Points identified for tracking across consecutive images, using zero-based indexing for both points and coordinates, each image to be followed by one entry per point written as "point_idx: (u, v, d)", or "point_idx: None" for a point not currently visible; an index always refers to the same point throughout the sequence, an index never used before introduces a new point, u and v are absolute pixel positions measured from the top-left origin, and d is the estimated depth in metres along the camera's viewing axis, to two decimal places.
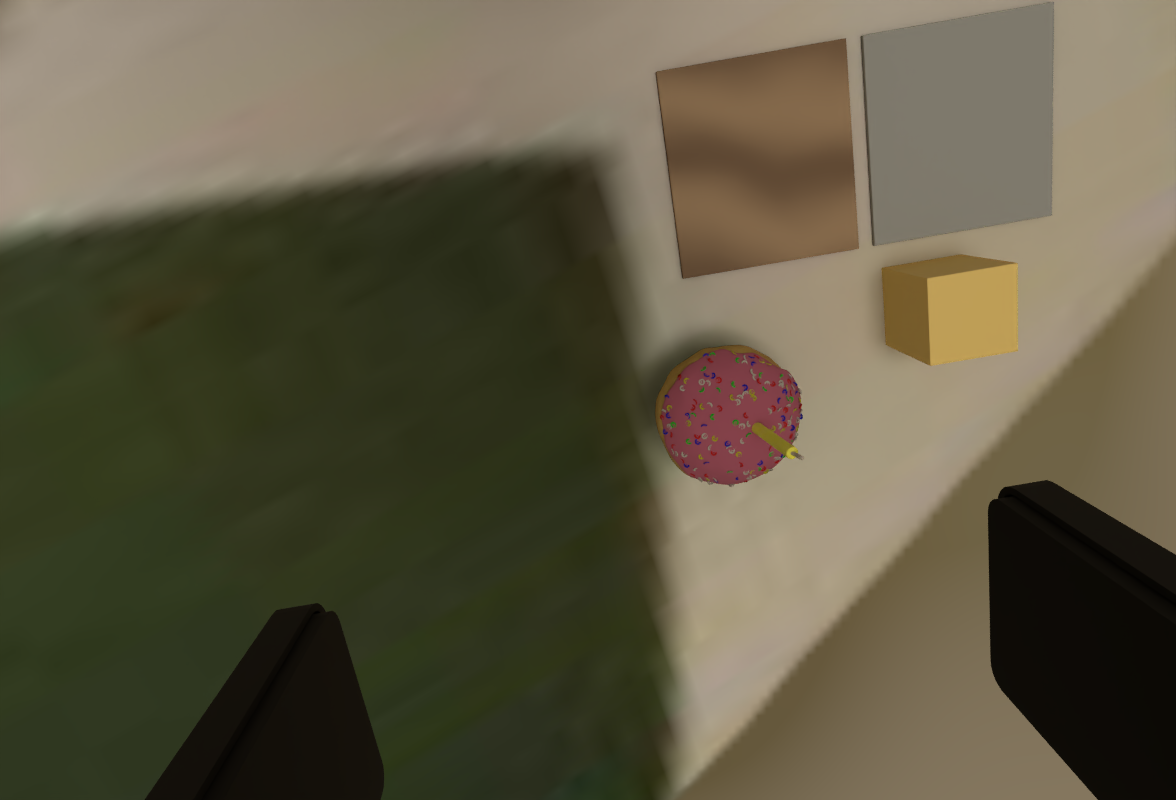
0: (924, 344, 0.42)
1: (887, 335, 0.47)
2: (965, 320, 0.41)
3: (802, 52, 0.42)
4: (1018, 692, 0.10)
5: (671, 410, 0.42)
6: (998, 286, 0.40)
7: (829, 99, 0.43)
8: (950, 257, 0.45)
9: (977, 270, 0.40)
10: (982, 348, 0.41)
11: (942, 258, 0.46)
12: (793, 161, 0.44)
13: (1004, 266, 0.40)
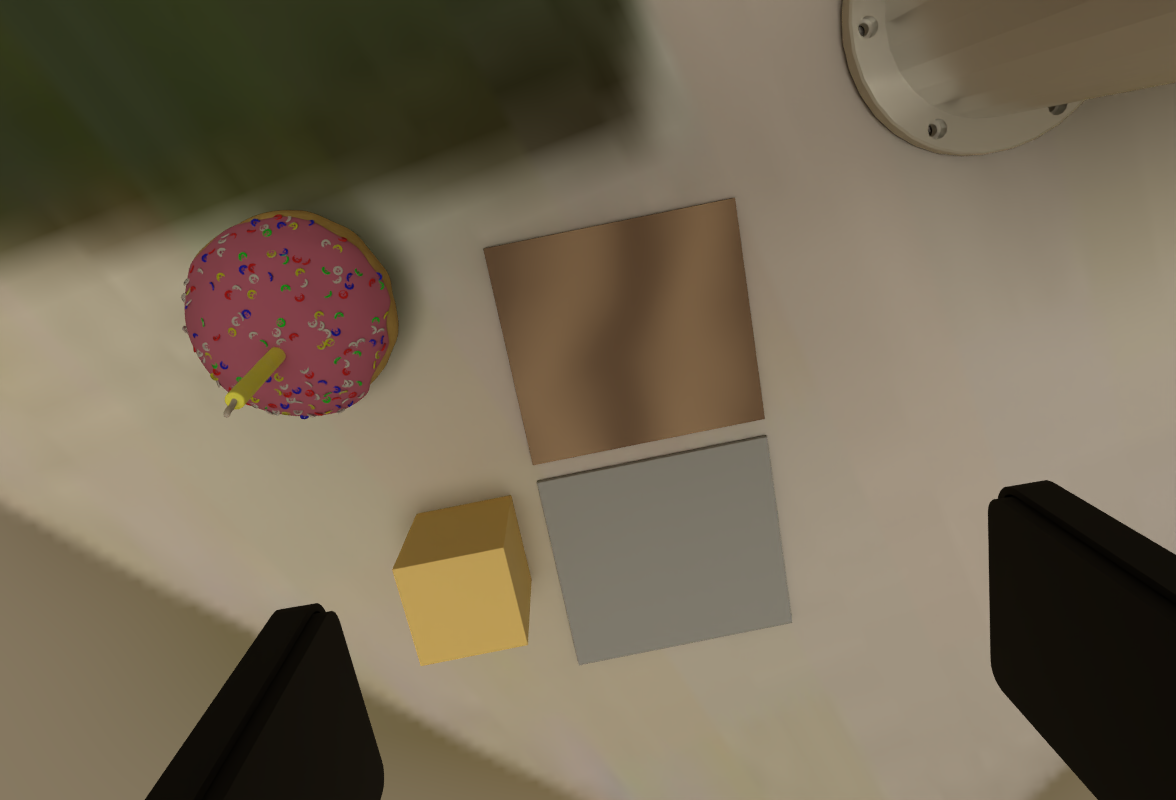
0: (419, 557, 0.33)
1: (428, 513, 0.38)
2: (454, 600, 0.33)
3: (751, 372, 0.36)
4: (1018, 692, 0.10)
5: (289, 229, 0.28)
6: (499, 629, 0.33)
7: (701, 408, 0.37)
8: (527, 569, 0.38)
9: (516, 602, 0.33)
10: (420, 625, 0.33)
11: (525, 561, 0.39)
12: (632, 375, 0.36)
13: (522, 631, 0.33)
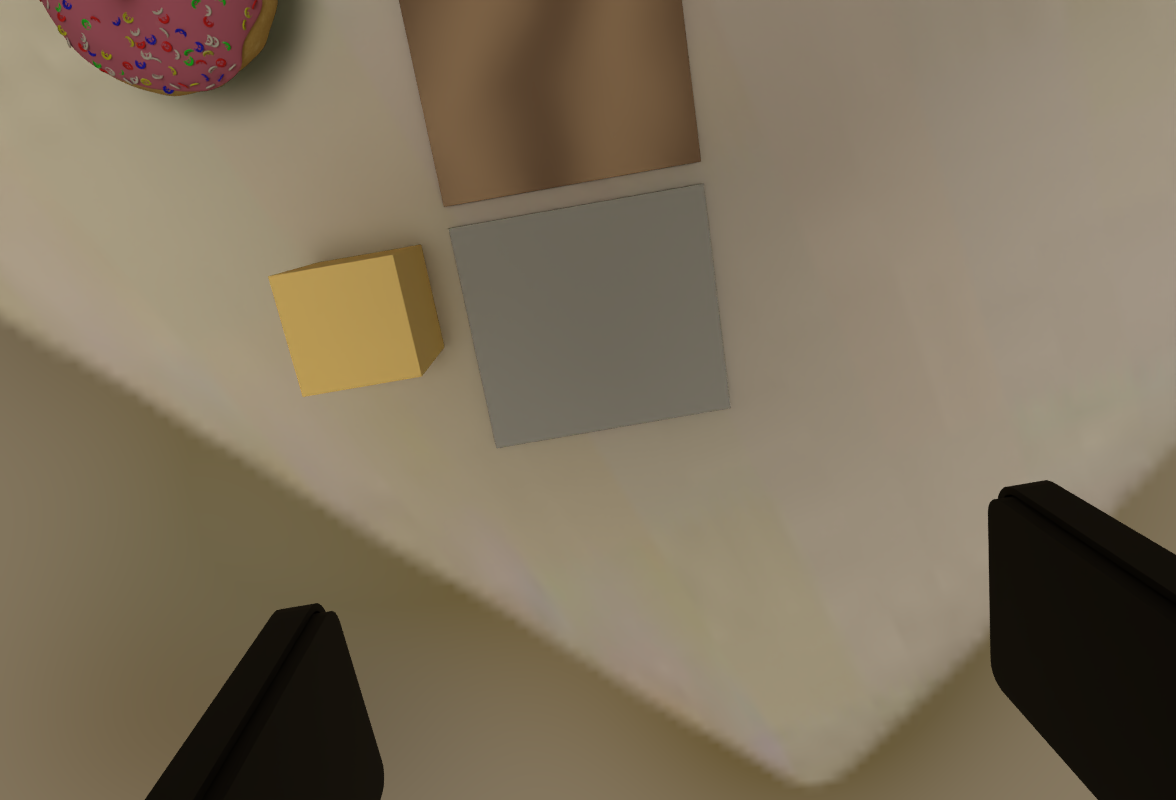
0: None
1: None
2: (338, 318, 0.29)
3: (686, 104, 0.33)
4: (1018, 692, 0.10)
5: None
6: (389, 356, 0.30)
7: (630, 146, 0.33)
8: (438, 330, 0.35)
9: (408, 324, 0.29)
10: (301, 347, 0.30)
11: (437, 322, 0.35)
12: (553, 102, 0.33)
13: (416, 359, 0.30)
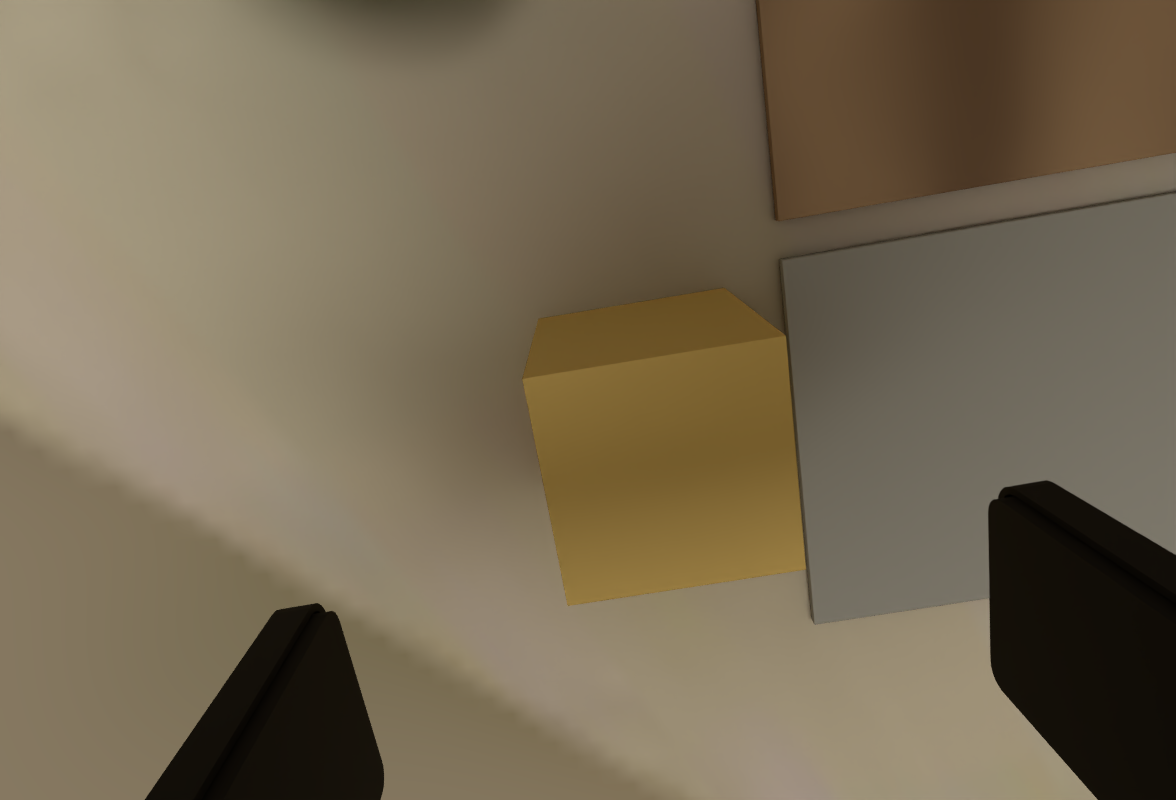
0: (579, 360, 0.14)
1: (561, 316, 0.19)
2: (656, 460, 0.14)
3: None
4: (1018, 692, 0.10)
5: None
6: (747, 532, 0.15)
7: (1136, 109, 0.18)
8: None
9: (794, 472, 0.14)
10: (575, 515, 0.15)
11: None
12: (1009, 25, 0.17)
13: (799, 539, 0.15)
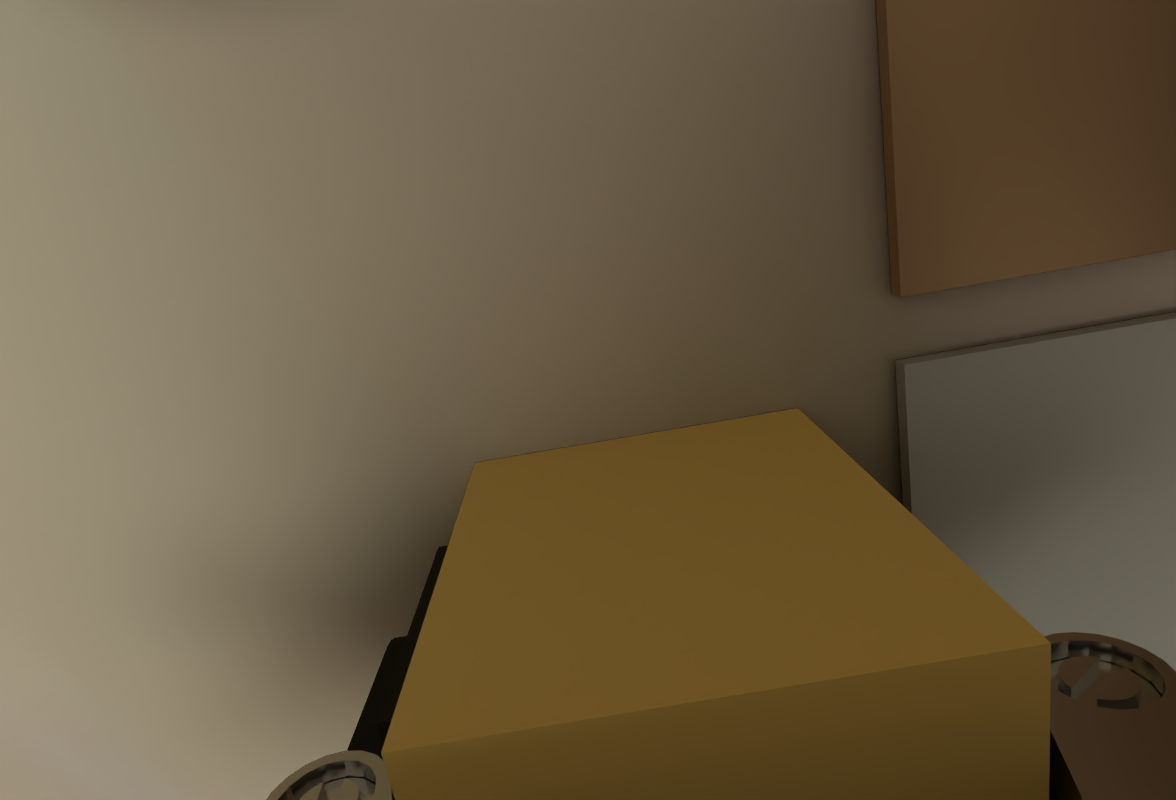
0: (530, 671, 0.06)
1: (515, 462, 0.11)
2: None
3: None
4: None
5: None
6: None
7: None
8: None
9: None
10: None
11: None
12: None
13: None
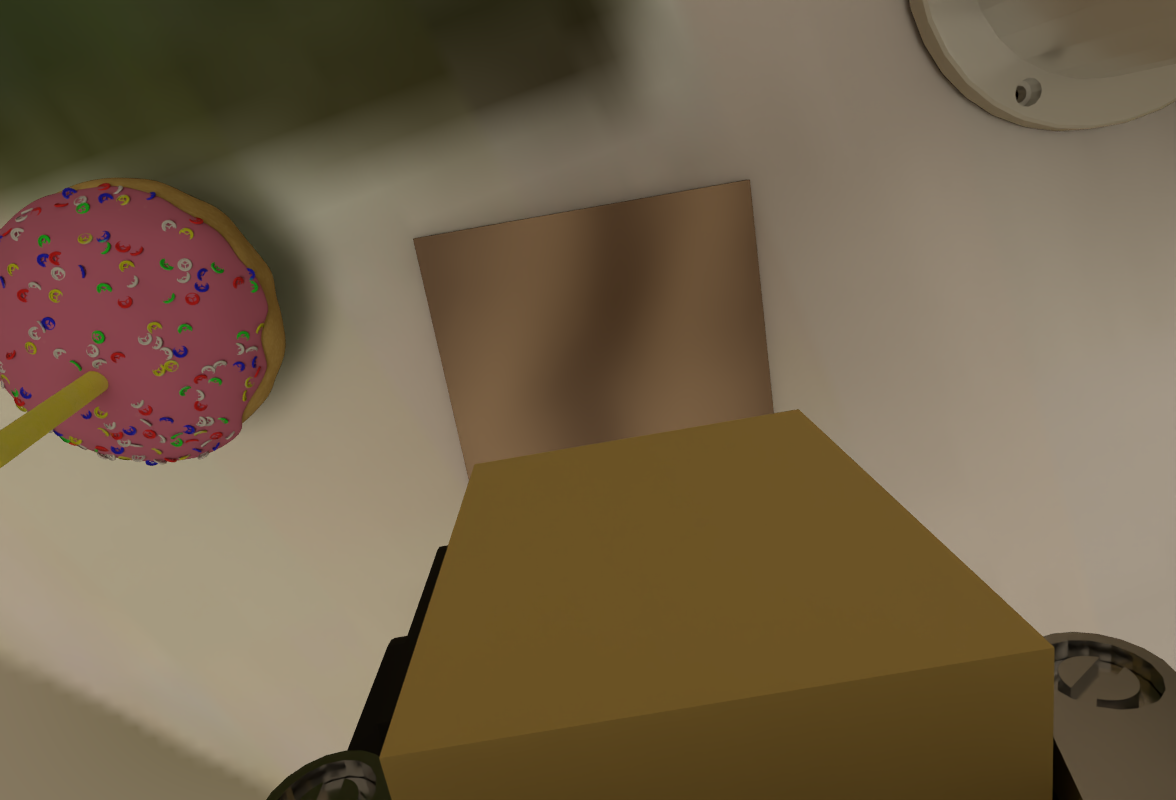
0: (529, 675, 0.06)
1: (515, 463, 0.11)
2: None
3: (764, 409, 0.28)
4: None
5: (117, 204, 0.20)
6: None
7: None
8: None
9: None
10: None
11: None
12: (608, 409, 0.28)
13: None
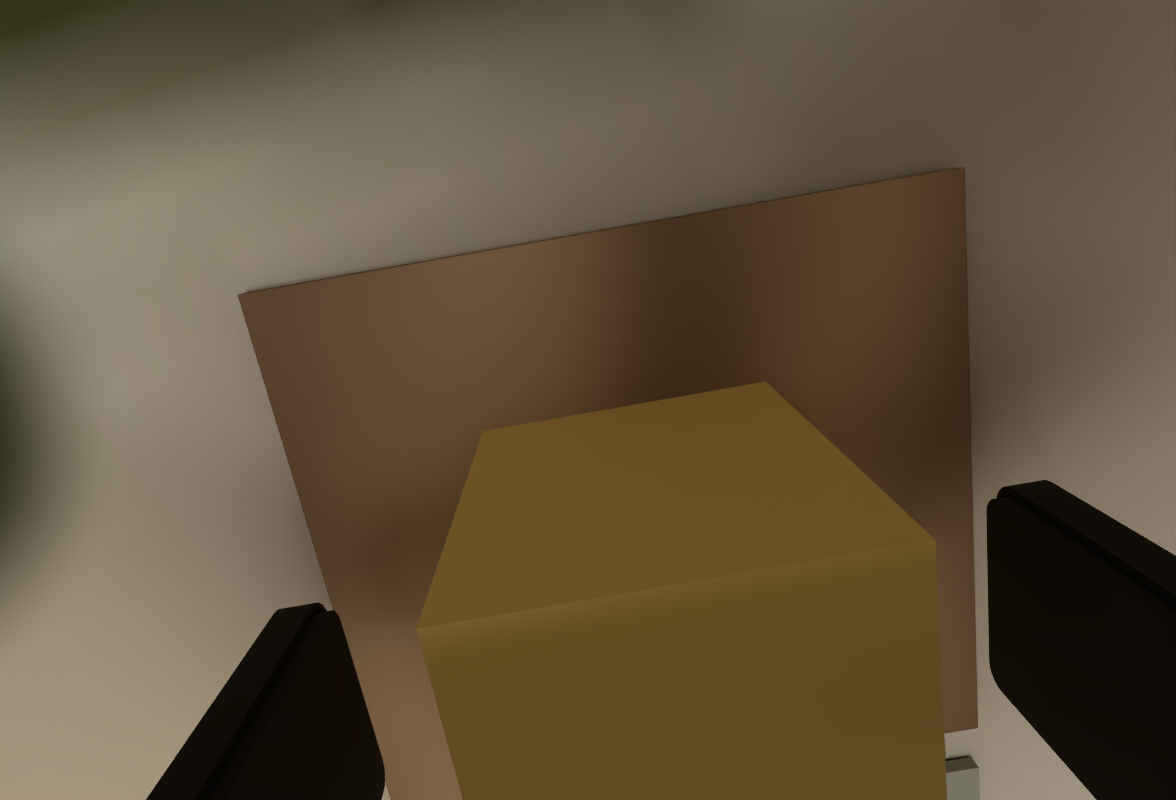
0: (531, 573, 0.08)
1: (518, 429, 0.12)
2: (680, 764, 0.07)
3: (957, 622, 0.14)
4: (1017, 692, 0.10)
5: None
6: None
7: None
8: None
9: (939, 776, 0.08)
10: None
11: None
12: None
13: None
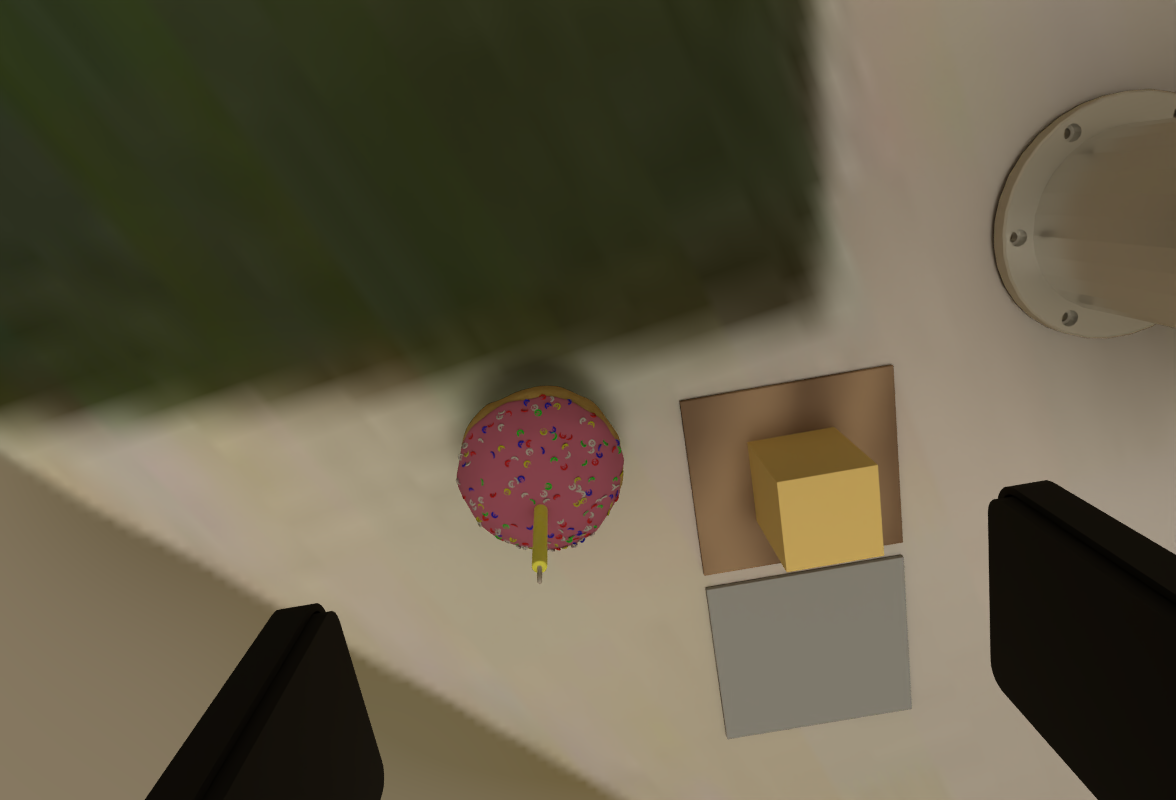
0: (794, 473, 0.36)
1: (759, 441, 0.41)
2: (826, 512, 0.36)
3: (894, 504, 0.43)
4: (1018, 692, 0.10)
5: (554, 409, 0.35)
6: (861, 540, 0.37)
7: None
8: None
9: (880, 516, 0.36)
10: (792, 534, 0.37)
11: None
12: None
13: (881, 543, 0.37)
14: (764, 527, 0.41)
